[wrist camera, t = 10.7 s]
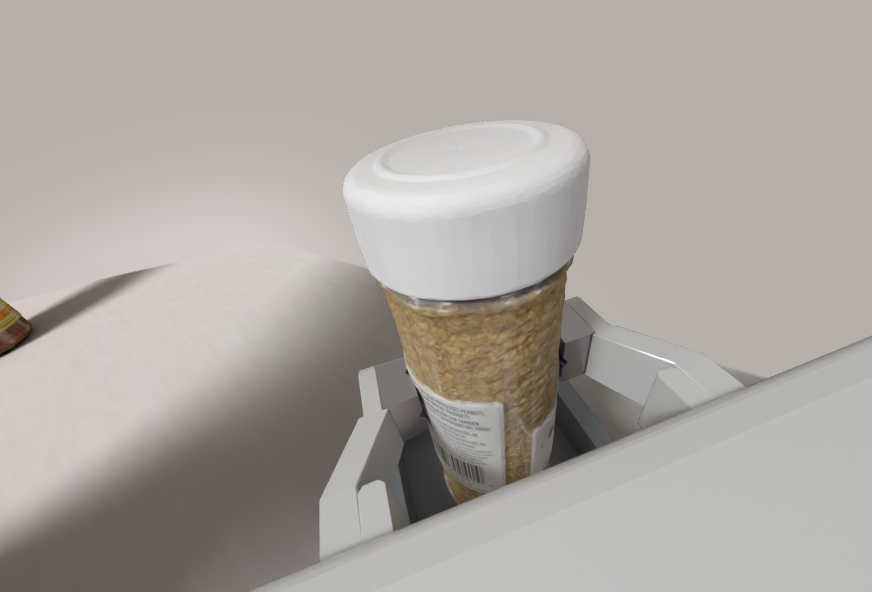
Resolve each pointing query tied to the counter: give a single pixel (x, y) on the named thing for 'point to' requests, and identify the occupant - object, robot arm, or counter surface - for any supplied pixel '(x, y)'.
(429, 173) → the sprinkles bottle
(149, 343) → the counter surface
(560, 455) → the bin
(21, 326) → the sauce bottle
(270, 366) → the counter surface
